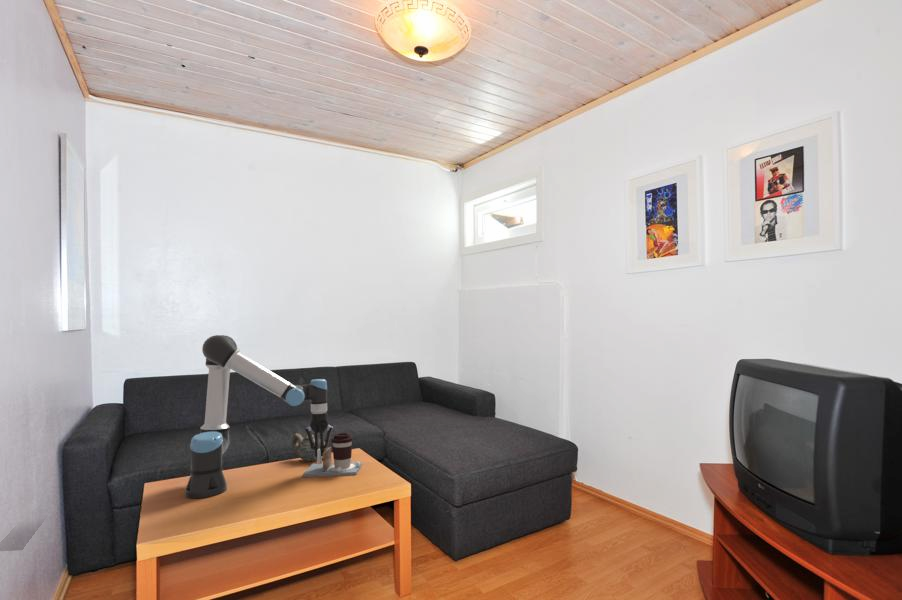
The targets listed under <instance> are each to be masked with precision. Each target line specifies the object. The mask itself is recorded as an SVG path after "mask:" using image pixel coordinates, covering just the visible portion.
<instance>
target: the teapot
mask: <svg viewBox="0 0 902 600" xmlns="http://www.w3.org/2000/svg"><path fill="white" fill-rule="evenodd" d="M312 437H313V441H314V445H315V435H314V434H312ZM291 440H292V441H291V446H292V448H293V450H294V451H295V452H296V453H297V456H298V457H299V458H300V459H301V460H302V461H304V462H307V461H311V462H313V461H312V460H314V461H317V457H316V456H315V449H312V448H311V446H310V442H309V438H308V434H307V433H306V434H305V435H304V436H302V435H301V434H300V433H294V434H293V437H292V439H291ZM324 445H325V441H324ZM318 449H320V438H319V448H318ZM326 449H327V448H324V451H325V450H326Z"/></svg>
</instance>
